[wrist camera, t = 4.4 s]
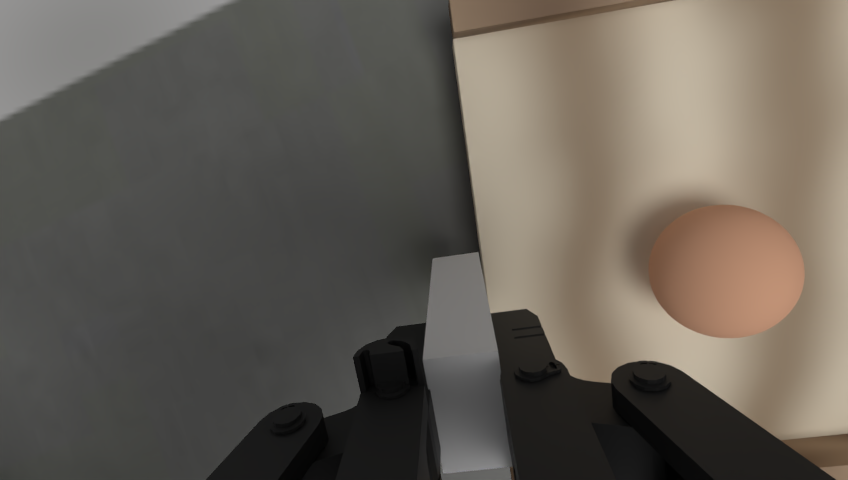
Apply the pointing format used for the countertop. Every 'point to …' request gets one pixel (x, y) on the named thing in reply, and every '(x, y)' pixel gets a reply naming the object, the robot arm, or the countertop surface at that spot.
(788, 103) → the wooden tray
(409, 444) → the robot arm
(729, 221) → the ball
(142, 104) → the countertop surface
